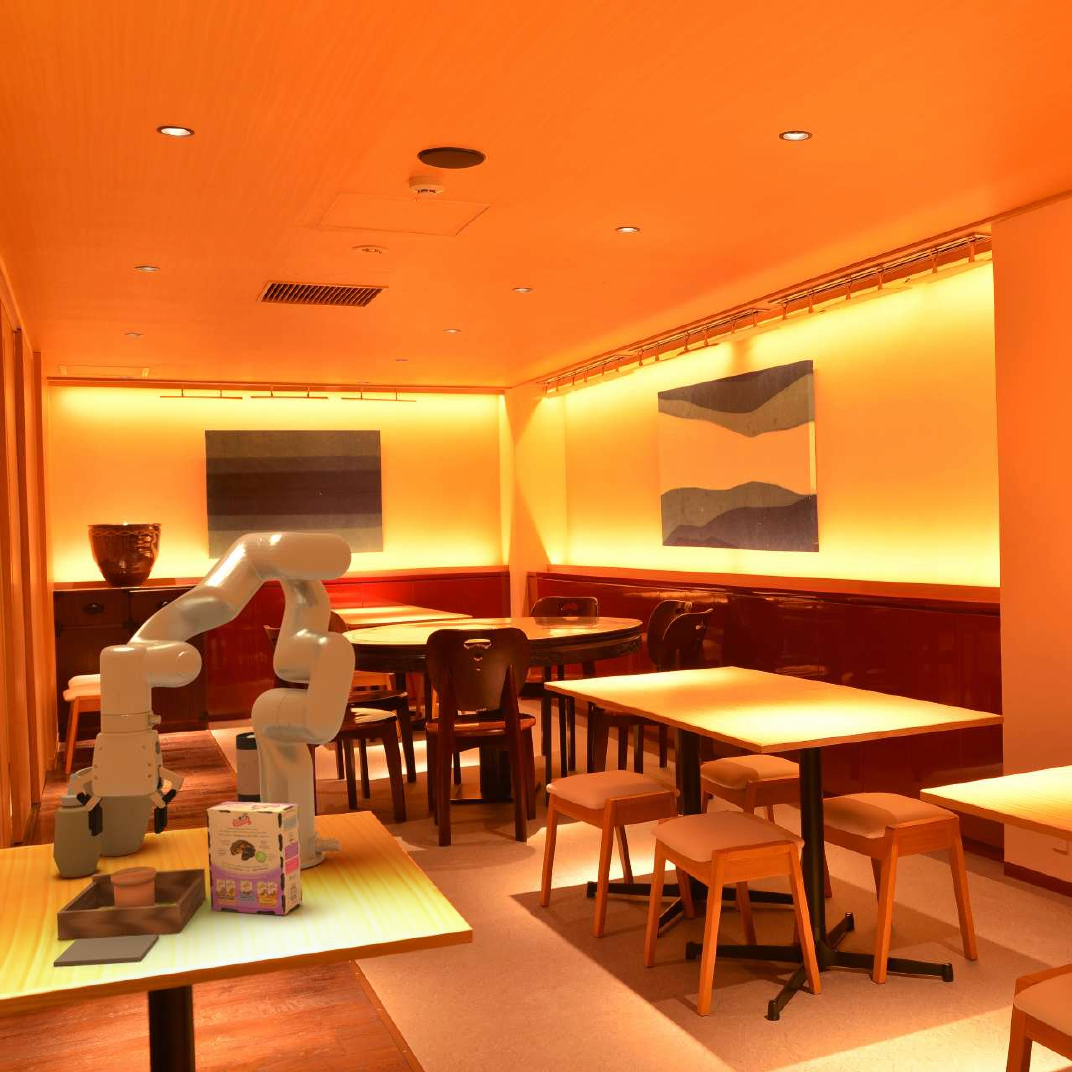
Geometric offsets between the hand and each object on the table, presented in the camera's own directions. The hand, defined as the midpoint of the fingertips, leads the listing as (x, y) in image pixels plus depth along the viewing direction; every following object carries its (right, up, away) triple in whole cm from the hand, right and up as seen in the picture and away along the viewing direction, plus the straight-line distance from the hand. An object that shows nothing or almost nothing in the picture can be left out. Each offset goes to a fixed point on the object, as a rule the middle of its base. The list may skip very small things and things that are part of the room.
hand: (128, 833), depth 176 cm
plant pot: (-16, -15, +41) cm, 46 cm away
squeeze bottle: (-19, -15, +27) cm, 36 cm away
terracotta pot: (+1, -14, +1) cm, 14 cm away
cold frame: (+1, -14, +1) cm, 14 cm away
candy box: (+19, -13, +3) cm, 24 cm away
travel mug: (+8, -14, +50) cm, 52 cm away
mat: (+2, -14, -14) cm, 20 cm away
